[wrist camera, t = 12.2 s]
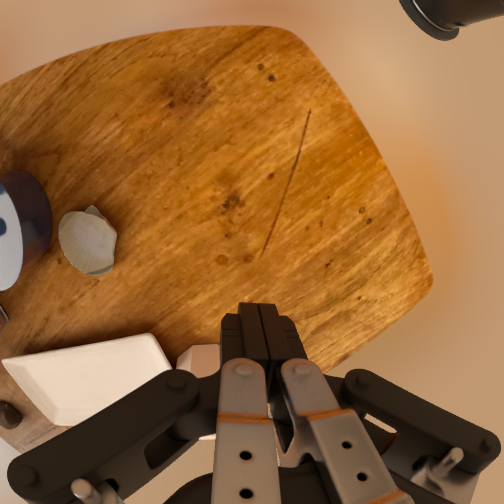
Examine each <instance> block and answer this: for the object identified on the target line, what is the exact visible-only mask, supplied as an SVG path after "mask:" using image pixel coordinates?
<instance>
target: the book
mask: <svg viewBox="0 0 504 504" xmlns="http://www.w3.org/2000/svg"><path fill="white" fill-rule="evenodd" d="M7 322H8V317H7V316H6V314H5V312H4V310H3V309H2V307H1V306H0V327H1V326H2V325H4V324H6V323H7Z"/></svg>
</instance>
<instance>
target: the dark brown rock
mask: <svg viewBox="0 0 504 504" xmlns="http://www.w3.org/2000/svg"><path fill="white" fill-rule="evenodd" d="M22 420H23V418H22V417H21V415H20V414H19V413H18V412H17V411H16V410H15V409H14V408H13V407H12V406H11V405H9V404H6V403H2V402H0V425H1V426H3V427H4V428H6V429H13V428H16V427H17V426H18V425H19V424H20V423H21V422H22Z"/></svg>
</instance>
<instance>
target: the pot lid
mask: <svg viewBox="0 0 504 504" xmlns="http://www.w3.org/2000/svg"><path fill="white" fill-rule="evenodd" d="M25 252H26V251H25V234H24V228H23V223H22V219H21V216H20V212H19V209H18V207H17V204H16V202H15V200H14V198H13V196H12V194H11V193H10V191H9V189H8V188H7V187H6V185H5V184H4V183H3V182H2V181H1V180H0V291H4V290H7V289H9V288H10V287H12V286H13V285H14V284H15V283H16V282H17V280H18V279H19V277H20V275H21V273H22V270H23V267H24V262H25Z"/></svg>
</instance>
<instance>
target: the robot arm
mask: <svg viewBox="0 0 504 504" xmlns="http://www.w3.org/2000/svg"><path fill="white" fill-rule="evenodd" d="M410 1H411V3H412V5H413V6H414V8H415V9H416V11H417V12H418V13H419V14H420V16H421V17H422V18H423V19H424V20H425V21H426V22H428V23H429V24H430V25H431V26H433V27H434V28H436V29H438V30H440V31H443V32H449V31H452V30H454V29H456V28H459V27H467V26H466V25H469V24H472V23H476V22H480V21H483V20H487V19H491V18H495V17H499V16H503V15H504V0H410ZM219 353H220V369H219V370H218V371H217V372H215V373H214V374H212V375H210V376H206V377H201V378H197V377H196V376H195V375H194V374H192V373H191V372H189V371H186V370H182V369H170V370H166V371H163V372H162V373H160V374H158V375H157V376H155V377H154V378H152V379H151V380H149V381H148V382H146V383H144V384H143V385H141V386H140V387H138V388H137V389H135V390H133V391H132V392H130V393H129V394H127V395H125V396H124V397H122V398H121V399H119V400H117V401H116V402H114V403H112V404H111V405H109V406H107V407H106V408H104V409H102V410H101V411H99V412H97V413H96V414H94V415H92V416H91V417H89V418H87V419H86V420H84V421H82V422H80V423H79V424H77V425H75V426H73V427H72V428H70V429H68V430H66V431H65V432H63V433H61V434H59V435H57V436H56V437H54V438H52V439H50V440H48V441H47V442H45V443H43V444H41V445H39V446H37V447H35V448H33V449H32V450H30V451H28V452H26V453H24V454H22V455H20V456H18V457H16V458H15V459H13V460H12V461H11V463H10V464H9V466H8V470H7V478H8V482H9V484H10V486H11V488H12V489H13V491H14V492H15V493H16V494H18V495H19V496H20V497H21V498H23V499H24V500H25V501H26V502H28V503H29V504H125V503H124V502H123V500H125V499H126V498H128V497H129V496H130V495H132V494H133V493H135V492H136V491H137V490H139V489H140V488H141V487H143V486H144V485H145V484H146V483H148V482H149V481H150V480H152V479H153V478H154V477H155V476H157V475H158V474H159V473H161V472H162V471H163V470H164V469H165V468H167V467H168V466H169V465H170V464H172V463H173V462H174V461H175V460H176V459H178V457H180V456H181V455H182V454H183V453H185V452H186V451H187V450H188V449H189V448H190V447H191V446H193V445H194V444H195V443H196V442H197V441H198V440H199V438H200V437H204V436H208V435H213V434H216V439H215V452H214V467H213V472H212V473H209V474H205V475H202V476H200V477H197V478H195V479H193V480H191V481H190V482H188V483H186V484H185V485H183V486H182V487H181V488H179V489H178V490H177V491H176V492H175V493H174V494H173V495H172V496H171V497H170V498H168V499H167V500H166V501H165V502H164V503H163V504H470V501H471V499H472V496H473V493H474V490H475V487H476V484H477V481H478V478H479V475H480V473H481V472H482V471H483V470H484V469H485V468H486V467H487V466H488V465H489V464H490V463H491V462H493V461H494V460H495V459H496V458H497V457H498V456H499V454H500V452H501V444H500V441H499V439H498V437H497V436H496V435H495V434H494V433H492V432H490V431H488V430H486V429H484V428H481V427H479V426H477V425H475V424H473V423H471V422H469V421H466V420H464V419H462V418H460V417H458V416H456V415H454V414H452V413H450V412H448V411H446V410H444V409H441V408H440V407H438V406H436V405H434V404H432V403H430V402H428V401H426V400H424V399H422V398H420V397H418V396H416V395H414V394H412V393H410V392H408V391H406V390H404V389H402V388H401V387H399V386H397V385H395V384H393V383H391V382H389V381H387V380H385V379H384V378H382V377H380V376H378V375H376V374H374V373H373V372H371V371H368V370H365V369H353V370H351V371H349V372H348V373H347V374H346V376H345V378H340V377H333V376H328V375H325V374H323V373H322V372H321V370H320V368H319V367H318V366H317V365H316V364H315V363H313V362H312V361H309V360H308V358H307V355H306V353H305V350H304V347H303V345H302V342H301V340H300V339H299V334H298V332H297V329H296V327H295V324H294V322H293V321H292V320H291V319H289V318H288V317H287V316H279V315H278V311H277V308H276V305H275V304H265V303H243V302H239V305H238V314H230V313H226V315H225V316H224V317H223V319H222V320H221V333H220V348H219ZM267 403H269V404H270V413H269V416H268V405H267ZM367 413H368V414H369V415H371V416H373V417H375V418H376V419H378V420H380V421H382V422H383V423H385V424H387V425H389V426H391V427H392V428H394V429H395V430H396V431H397V432H396V433H390V432H387V431H385V430H384V429H382V428H380V427H378V426H377V425H375V424H373V423H372V422H369V421H368V420H366V419H364V418H365V416H366V414H367ZM276 448H277V451H278V454H279V458H280V467H278V464H277V453H276Z"/></svg>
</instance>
